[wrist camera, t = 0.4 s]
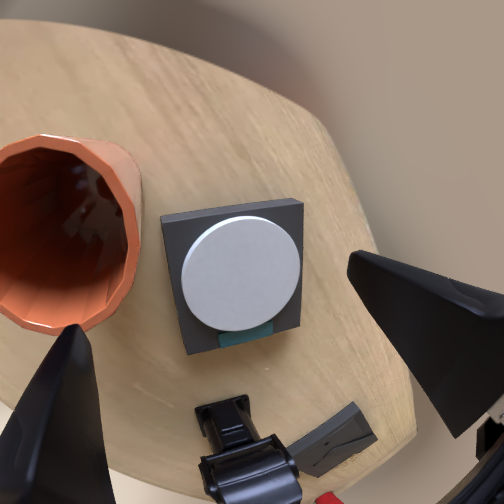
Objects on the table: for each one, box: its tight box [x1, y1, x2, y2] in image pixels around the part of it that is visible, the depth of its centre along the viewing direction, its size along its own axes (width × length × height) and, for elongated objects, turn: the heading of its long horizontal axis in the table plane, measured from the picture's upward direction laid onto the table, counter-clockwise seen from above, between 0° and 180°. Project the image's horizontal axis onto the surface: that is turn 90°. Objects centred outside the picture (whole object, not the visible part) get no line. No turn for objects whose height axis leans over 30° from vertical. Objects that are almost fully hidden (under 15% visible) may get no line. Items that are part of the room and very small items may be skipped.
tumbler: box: [0, 134, 142, 336], centre depth 13 cm, size 7×7×13 cm
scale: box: [160, 198, 304, 355], centre depth 24 cm, size 12×11×3 cm
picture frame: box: [286, 402, 378, 478], centre depth 45 cm, size 16×3×21 cm
